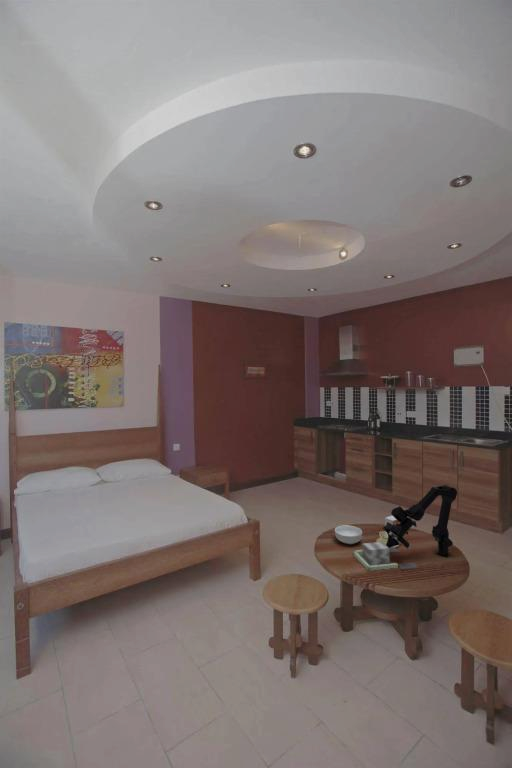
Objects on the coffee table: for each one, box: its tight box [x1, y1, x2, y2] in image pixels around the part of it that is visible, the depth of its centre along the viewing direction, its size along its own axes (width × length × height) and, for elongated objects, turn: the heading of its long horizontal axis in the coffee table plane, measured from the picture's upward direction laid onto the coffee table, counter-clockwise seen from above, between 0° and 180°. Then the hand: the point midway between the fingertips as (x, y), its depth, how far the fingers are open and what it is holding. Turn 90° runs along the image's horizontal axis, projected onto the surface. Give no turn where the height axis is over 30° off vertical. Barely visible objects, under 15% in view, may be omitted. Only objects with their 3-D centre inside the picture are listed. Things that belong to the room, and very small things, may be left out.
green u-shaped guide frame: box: [352, 547, 420, 572], centre depth 200 cm, size 28×23×2 cm
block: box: [361, 541, 391, 566], centre depth 200 cm, size 12×8×8 cm, turn 100°
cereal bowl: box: [334, 524, 363, 545], centre depth 224 cm, size 17×17×7 cm
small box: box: [384, 515, 400, 537], centre depth 228 cm, size 8×6×13 cm
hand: (386, 548), depth 201 cm, fingers closed
